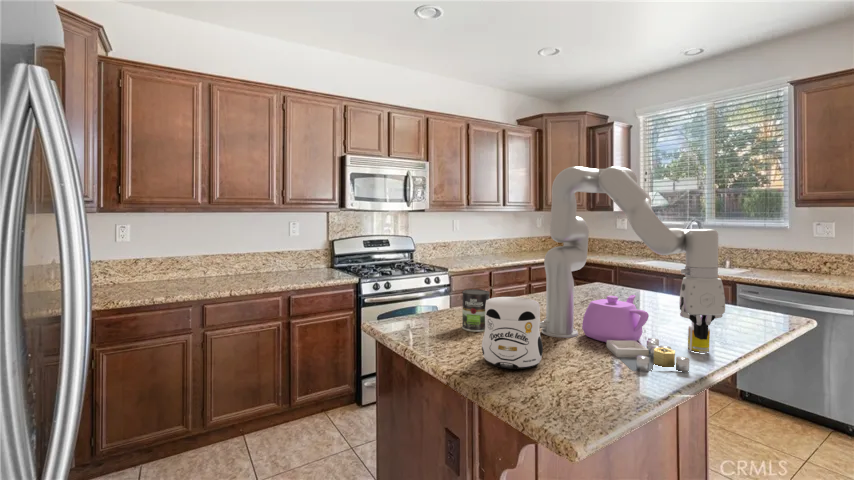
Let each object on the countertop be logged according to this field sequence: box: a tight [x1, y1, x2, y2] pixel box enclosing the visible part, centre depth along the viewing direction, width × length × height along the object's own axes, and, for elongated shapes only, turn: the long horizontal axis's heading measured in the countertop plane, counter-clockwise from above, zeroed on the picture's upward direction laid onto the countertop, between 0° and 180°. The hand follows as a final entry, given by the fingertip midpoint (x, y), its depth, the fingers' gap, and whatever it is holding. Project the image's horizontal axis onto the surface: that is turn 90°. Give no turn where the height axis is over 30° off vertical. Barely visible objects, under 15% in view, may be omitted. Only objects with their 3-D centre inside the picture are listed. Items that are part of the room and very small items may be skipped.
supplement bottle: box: [687, 322, 711, 353], centre depth 127 cm, size 6×6×10 cm
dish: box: [606, 340, 649, 358], centre depth 127 cm, size 9×9×2 cm
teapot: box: [581, 294, 649, 343], centre depth 141 cm, size 23×21×15 cm
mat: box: [614, 354, 654, 373], centre depth 121 cm, size 15×20×1 cm
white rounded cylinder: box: [481, 296, 544, 370], centre depth 119 cm, size 17×17×18 cm
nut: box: [654, 348, 676, 367], centre depth 117 cm, size 6×5×4 cm
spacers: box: [636, 337, 690, 373], centre depth 120 cm, size 14×20×4 cm
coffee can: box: [461, 289, 491, 333], centre depth 155 cm, size 10×10×14 cm
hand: (700, 338), depth 115 cm, fingers closed
